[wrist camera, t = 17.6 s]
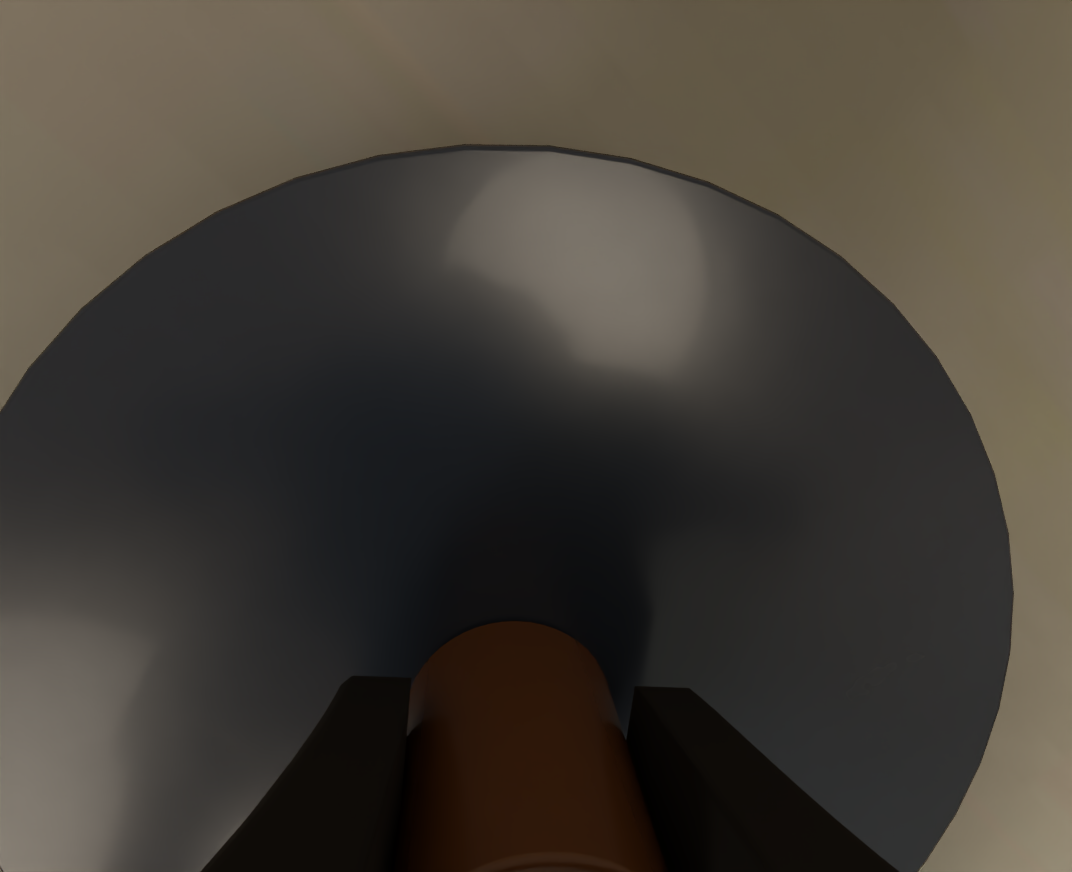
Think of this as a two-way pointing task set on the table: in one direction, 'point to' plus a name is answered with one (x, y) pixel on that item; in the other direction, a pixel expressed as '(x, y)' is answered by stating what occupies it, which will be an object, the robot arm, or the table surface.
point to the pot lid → (488, 519)
